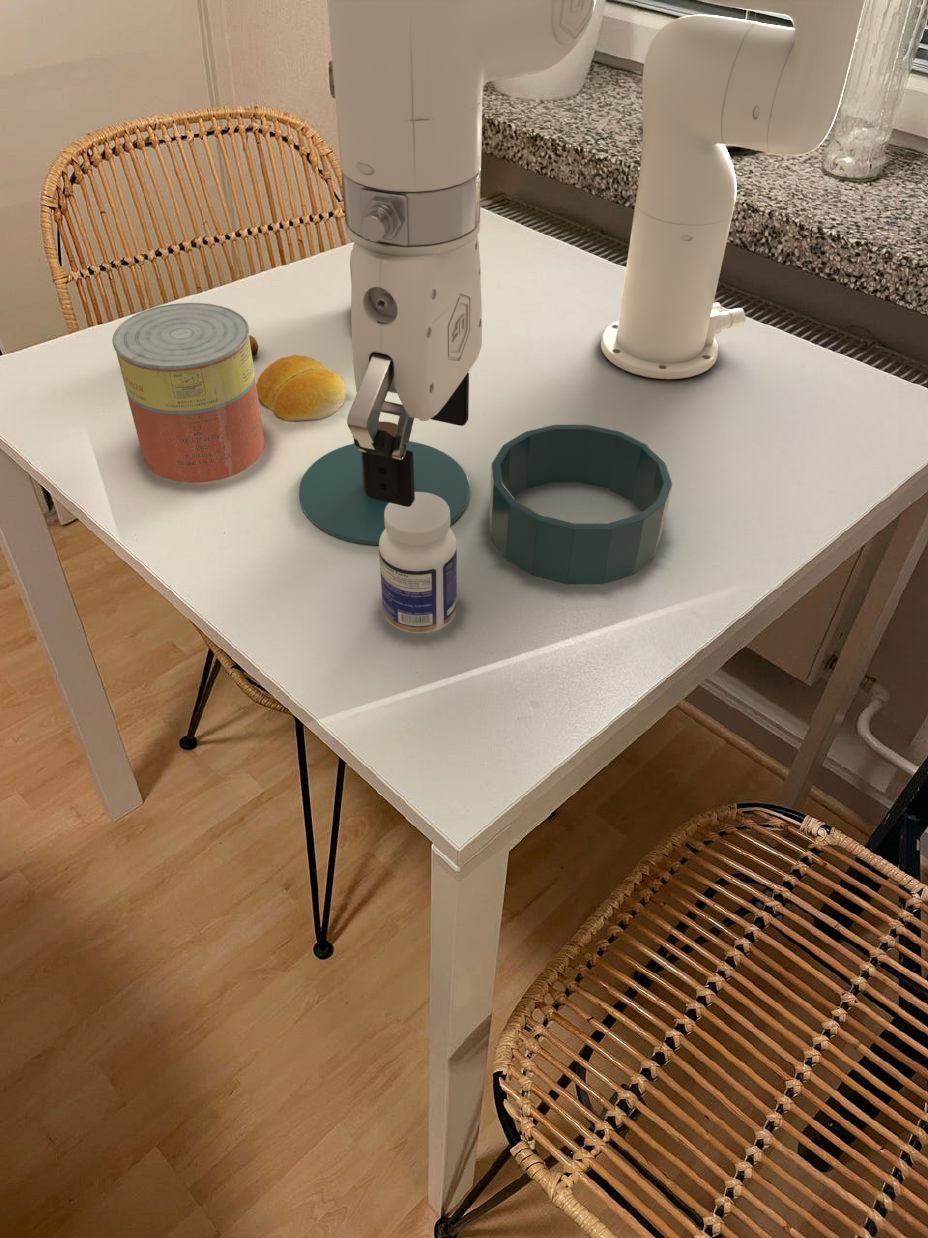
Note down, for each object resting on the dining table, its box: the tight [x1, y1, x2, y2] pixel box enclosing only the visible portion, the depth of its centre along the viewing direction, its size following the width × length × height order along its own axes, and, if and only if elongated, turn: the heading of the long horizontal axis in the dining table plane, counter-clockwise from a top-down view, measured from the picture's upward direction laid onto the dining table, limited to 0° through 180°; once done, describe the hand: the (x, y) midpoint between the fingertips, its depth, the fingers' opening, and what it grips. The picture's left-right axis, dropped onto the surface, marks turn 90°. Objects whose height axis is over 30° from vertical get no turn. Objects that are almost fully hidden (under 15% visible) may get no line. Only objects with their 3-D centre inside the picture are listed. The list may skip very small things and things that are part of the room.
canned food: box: [112, 302, 265, 483], centre depth 85 cm, size 11×11×12 cm
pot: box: [488, 424, 673, 585], centre depth 79 cm, size 14×14×6 cm
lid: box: [298, 421, 471, 546], centre depth 82 cm, size 15×15×7 cm
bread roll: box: [256, 354, 347, 422], centre depth 94 cm, size 8×9×4 cm
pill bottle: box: [378, 492, 458, 634], centre depth 71 cm, size 6×6×10 cm
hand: (419, 457), depth 64 cm, fingers open, 9 cm apart
